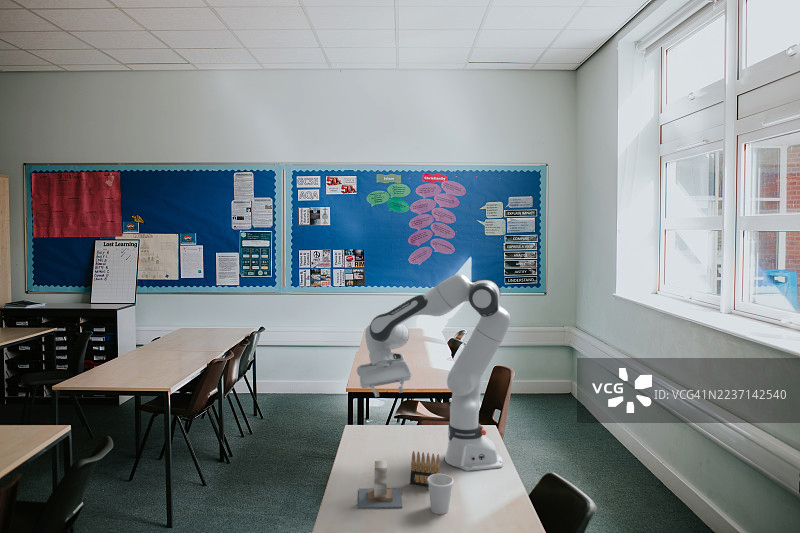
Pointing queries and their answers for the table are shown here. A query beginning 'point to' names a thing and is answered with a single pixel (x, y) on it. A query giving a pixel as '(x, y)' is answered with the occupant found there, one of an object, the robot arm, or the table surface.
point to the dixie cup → (440, 492)
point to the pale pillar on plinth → (380, 484)
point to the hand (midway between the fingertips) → (389, 394)
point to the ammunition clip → (423, 469)
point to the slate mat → (373, 505)
